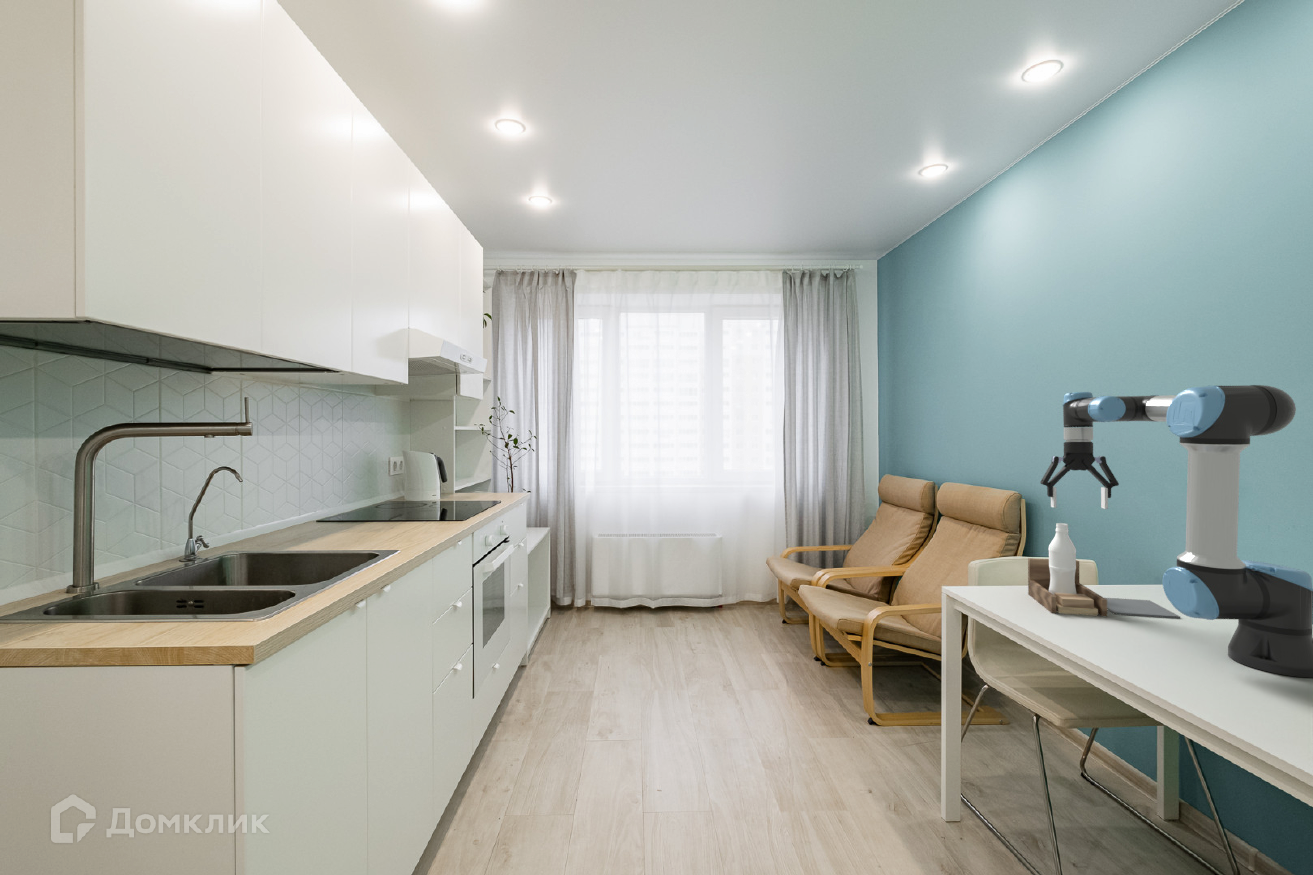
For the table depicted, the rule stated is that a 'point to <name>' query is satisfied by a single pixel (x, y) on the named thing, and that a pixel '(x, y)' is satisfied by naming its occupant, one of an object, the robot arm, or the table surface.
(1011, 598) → the table surface
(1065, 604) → the offcut upper
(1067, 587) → the water bottle
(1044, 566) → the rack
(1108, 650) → the table surface
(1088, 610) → the offcut lower
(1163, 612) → the mat
